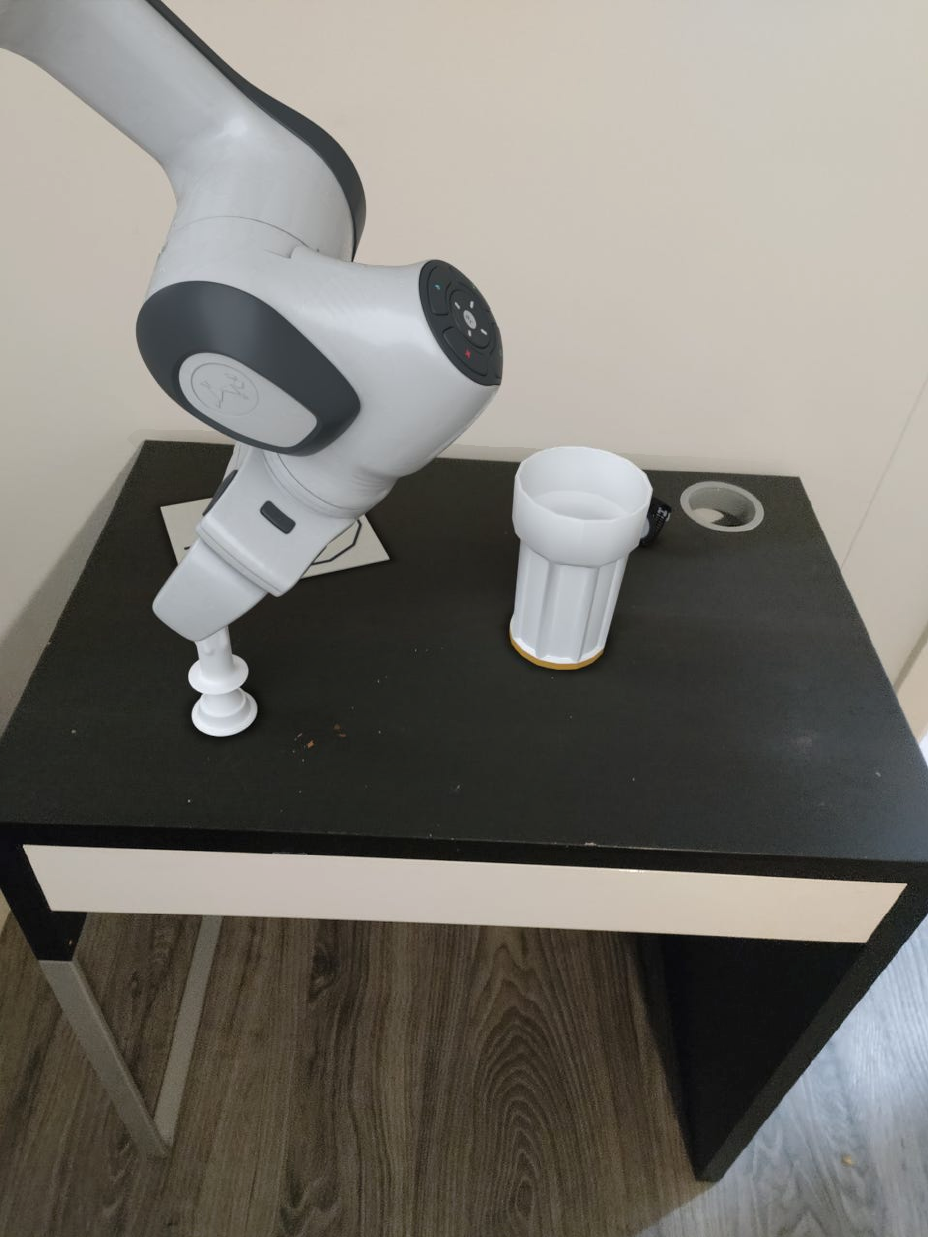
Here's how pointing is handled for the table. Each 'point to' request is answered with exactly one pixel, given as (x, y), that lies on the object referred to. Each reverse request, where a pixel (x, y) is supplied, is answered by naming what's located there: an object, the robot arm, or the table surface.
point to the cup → (573, 550)
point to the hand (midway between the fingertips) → (209, 558)
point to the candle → (220, 688)
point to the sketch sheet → (339, 554)
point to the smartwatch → (651, 523)
